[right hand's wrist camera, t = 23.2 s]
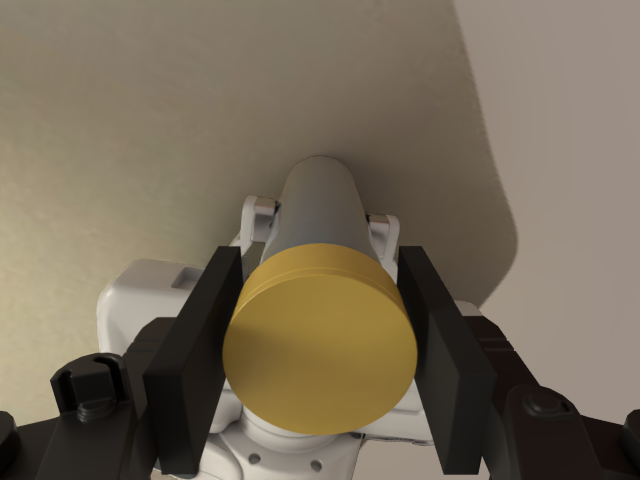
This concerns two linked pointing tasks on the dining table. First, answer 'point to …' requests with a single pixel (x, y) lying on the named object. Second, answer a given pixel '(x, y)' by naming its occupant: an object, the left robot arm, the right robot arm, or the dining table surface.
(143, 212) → the dining table surface
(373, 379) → the lid
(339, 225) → the blue tall cylinder
